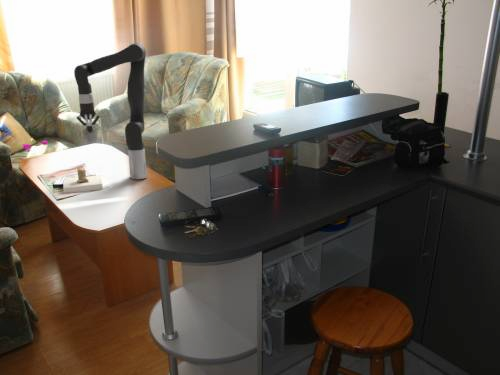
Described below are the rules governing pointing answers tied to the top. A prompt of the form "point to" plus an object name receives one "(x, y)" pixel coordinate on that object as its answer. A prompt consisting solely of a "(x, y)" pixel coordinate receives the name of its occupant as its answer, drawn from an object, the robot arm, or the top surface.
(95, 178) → the socket board
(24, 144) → the toy block
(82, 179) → the oak peg
